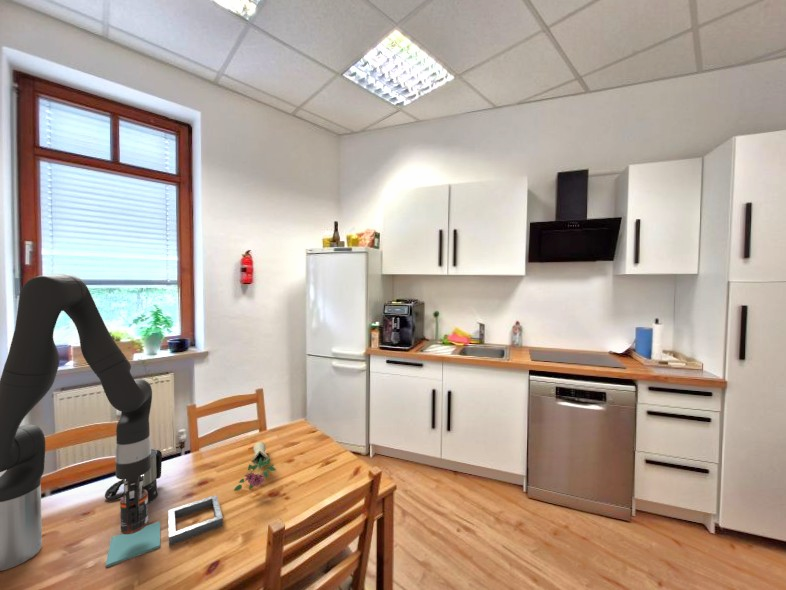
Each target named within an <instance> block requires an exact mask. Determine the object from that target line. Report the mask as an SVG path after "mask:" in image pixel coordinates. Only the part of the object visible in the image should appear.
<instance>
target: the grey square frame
mask: <svg viewBox="0 0 786 590" xmlns="http://www.w3.org/2000/svg"><path fill="white" fill-rule="evenodd" d="M208 508H209V509H210V508H212V511H213V516H214V517H212V518H209V519H207V520H204V521H201V522H199V523H195V524H193V525H190V526H187V527H184V528H181V529H179V530H176V520H177V519H180V518H183V517H184V516H185V517H186V516H188V515H191V514H194V513H197V512H199V511H203V510H206V509H208ZM167 513H168V547H171V546H174V545H176V544H179V543H182V542H185V541H187V540H190V539H192V538H195V537H197V536H200V535H204V534H206V533H209V532H211V531H213V530H217V529H218V528H221V527H223V526H224V525H223V524H224V522H223V521H224V519H223V513H222V510H221V506H220V502H219V498H218V495H217V494H215V495H212V496H208V497H206V498H202V499H199V500H195V501H193V502H189V503H187V504H184V505H180V506H177V507H174V508H171V509H168V512H167Z"/></svg>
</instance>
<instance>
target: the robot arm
mask: <svg viewBox="0 0 786 590" xmlns="http://www.w3.org/2000/svg"><path fill="white" fill-rule="evenodd" d="M61 312H64V313H65V314H66V315H67V316H68V317H69V318H70V320H71V321H72V322H73V324H74V327H76V331H77V334H78V339H79V343H80V350H81V354H82V356H83V358H84V360H85V362H86V363H87V365H88V366H89V367H90V368H91V370H92V371H93V373H94V374H95V375H96V377H97V378H98V379H99V381H100V383H101V386H102V389H103V391H104V394H105V396H106V398H107V401H108V403H110V405H111V406H112V407H113V408H114V409H116V410H117V411H119V412H120V418H119V420H118V422H117V424H116V431H115V432H116V434H115V436H116V437H115V438H116V444H115V477H116V478H117V480H120V481H121V480H123V479H125V484H123V492H124V491H125V502H126V514H128V525H133V524H136V523H138V522H139V507H140V505H139V499H140V498H141V497H142V486H143V481H144V475H142V474H145V473H146V472H147V471H149V470H150V468H151V449H152V441H151V437H150V433H151V432H150V431H151V430H150V414H151V408H152V400H153V390H152V385H150V383H149V382H148V381H146V380H145V379H141V378H137V379H136V378H135V379H134V377H133V375H132V374H131V369H132V366H131V365H132V364H131V363H130V361H129V359H128V358H127V357H126V355H125V353H123V351H122V350H121V348H120V347H119V346H118V345H117V343H116V341H115V339H114V338H113V336H112V335H111V333H110V331H109V330H108V328H107V325H106V324H105V322H104V320H103V318H102V316H101V314H100V311H99V309H98V307H97V304H96V302H95V300H94V297H93V296H92V294H91V292H90V290H89V288H88V286H87V284H86V283H85V282H84V280H82V279H81V278H79V277H78V276H76V275H73V274H68V273H66V274H64V273H60V274H46V275H45V274H44V275H38V276H35V277H32V278H30V279H28V280H27V281H25V283H24V284H23V286H22V287H21V289H20V293H19V298H18V304H17V314H16V320H15V328H14V331H13V335H12V339H11V342H10V346H9V352H8V354H7V357H6V360H5V363H4V365H3V369H2V373H1V376H0V473H2V472H3V474H1V476H0V572H1V571H6V570H8V569H12V568H14V567H17V566H19V565H21V564H23V563H25V562H27V561H29V560H30V559H31V558H34V557H35V556H36V555H37V554H38V553H39V552H40V551H41V549H42V547H43V536H42V535H43V533H42V531H43V528H42V521H43V520H42V483H41V482H42V477H43V475H44V472H45V458H46V437H45V434H44V432H43V430H42V429H41V428H40V427H39V426H38V425H35V424H31V423H30V424H23V425H21V424H22V422H23V420H24V419H25V418H26V416H27V415H28V414H29V413H30V412H31V411H32V410H33V409H34V408H35V407H36V406H37V404H38V403H39V402H40V401H41V400H43V398H44V397H45V396H46V395H47V394H48V392H49V391H50V390H51V388H52V387H53V385H54V383H55V379H56V377H57V373H58V369H59V366H60V360H61V359H60V358H61V357H60V354H59V350H58V348H57V346H56V343H55V341H54V331H55V327H56V325H57V322H58V320H59V319H58V318H59V316H60V315H61ZM20 425H21V426H20ZM138 494H139V495H138ZM131 504H136V505H133V506H130V505H131Z"/></svg>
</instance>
